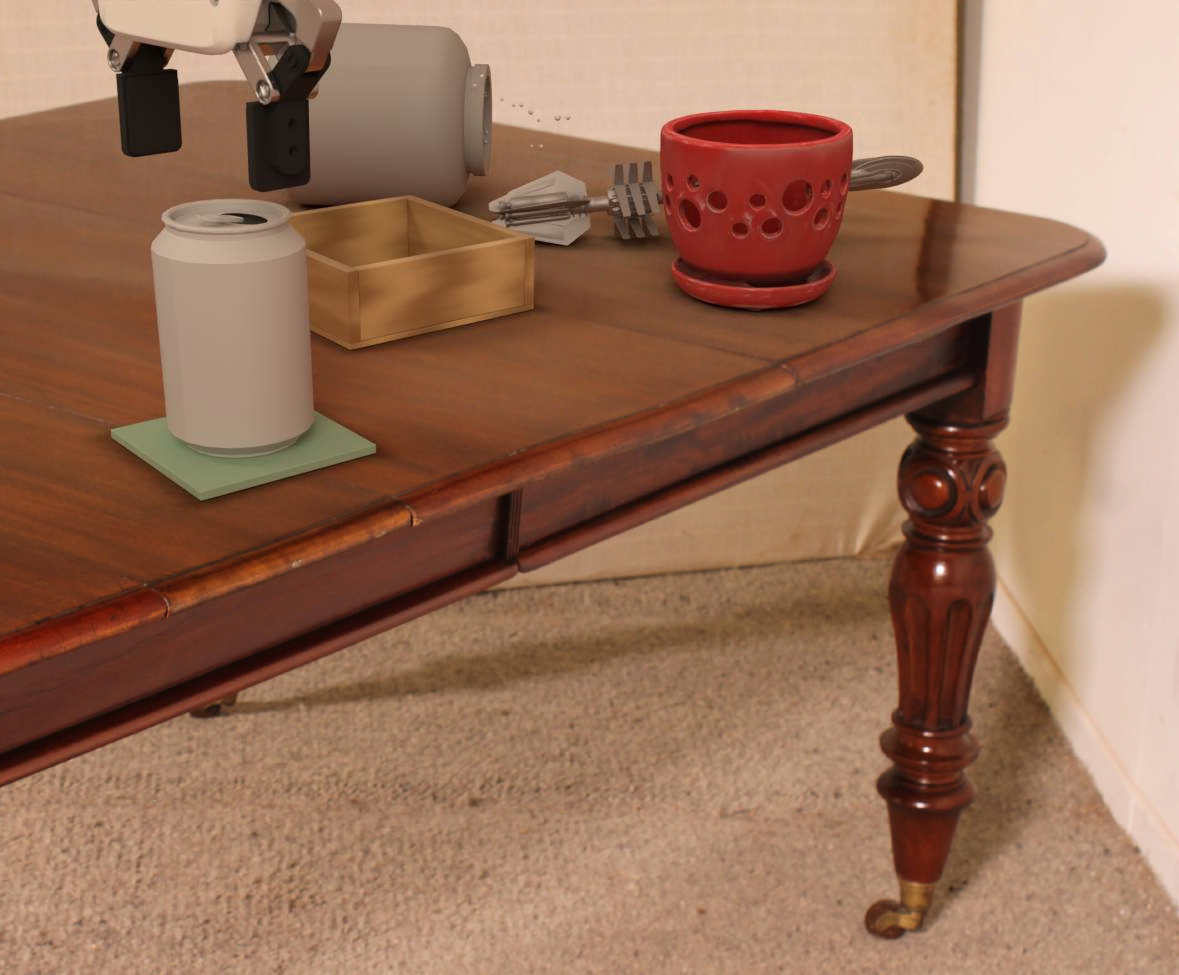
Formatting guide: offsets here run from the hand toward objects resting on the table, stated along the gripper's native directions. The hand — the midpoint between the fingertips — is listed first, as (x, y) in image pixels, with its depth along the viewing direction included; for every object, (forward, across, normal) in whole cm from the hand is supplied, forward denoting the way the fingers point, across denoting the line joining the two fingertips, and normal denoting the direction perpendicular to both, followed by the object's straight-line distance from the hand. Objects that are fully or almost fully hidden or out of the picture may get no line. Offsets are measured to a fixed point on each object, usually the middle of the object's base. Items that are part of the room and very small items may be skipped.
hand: (214, 169), depth 72 cm
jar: (+14, -31, +46) cm, 57 cm away
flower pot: (+14, +4, +43) cm, 45 cm away
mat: (+14, 0, +1) cm, 15 cm away
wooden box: (+14, -13, +23) cm, 30 cm away
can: (+14, 0, +1) cm, 14 cm away
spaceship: (+14, -7, +53) cm, 55 cm away
